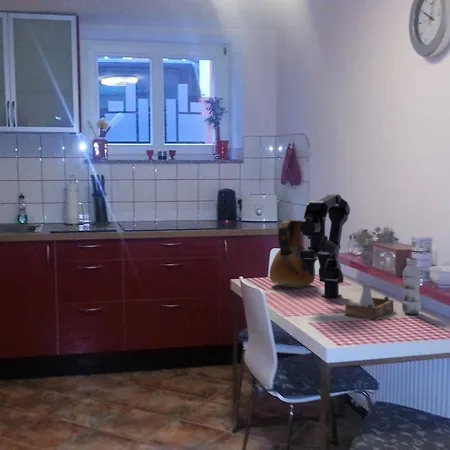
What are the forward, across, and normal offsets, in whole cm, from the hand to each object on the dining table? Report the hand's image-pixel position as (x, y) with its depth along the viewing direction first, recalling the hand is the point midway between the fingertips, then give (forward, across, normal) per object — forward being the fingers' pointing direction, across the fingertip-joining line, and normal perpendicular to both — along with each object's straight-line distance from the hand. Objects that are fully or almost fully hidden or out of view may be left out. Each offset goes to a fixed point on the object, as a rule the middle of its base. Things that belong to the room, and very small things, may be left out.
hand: (317, 273), depth 242 cm
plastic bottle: (+12, +5, -35) cm, 37 cm away
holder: (+12, -2, -22) cm, 25 cm away
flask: (+12, -2, -21) cm, 24 cm away
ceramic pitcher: (+12, +26, +26) cm, 39 cm away
